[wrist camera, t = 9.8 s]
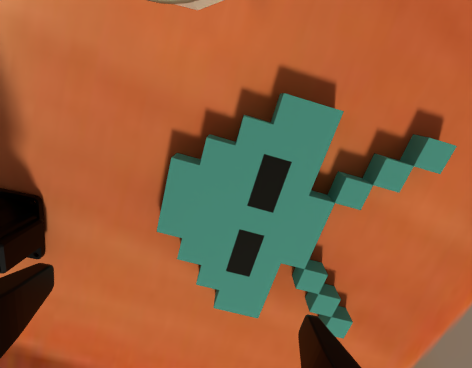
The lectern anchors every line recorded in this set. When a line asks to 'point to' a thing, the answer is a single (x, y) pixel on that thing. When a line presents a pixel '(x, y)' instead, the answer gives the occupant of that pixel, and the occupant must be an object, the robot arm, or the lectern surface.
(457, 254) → the lectern surface
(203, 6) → the bowl
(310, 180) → the alien figure
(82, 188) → the lectern surface
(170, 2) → the lid
